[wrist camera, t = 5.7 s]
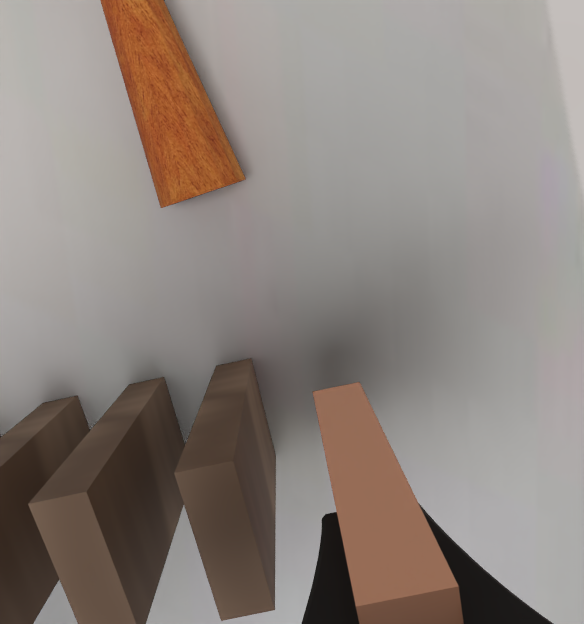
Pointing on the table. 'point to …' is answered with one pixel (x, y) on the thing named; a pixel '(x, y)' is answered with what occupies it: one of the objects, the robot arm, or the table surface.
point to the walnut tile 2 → (20, 491)
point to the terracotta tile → (381, 520)
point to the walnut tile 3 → (115, 508)
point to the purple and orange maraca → (169, 103)
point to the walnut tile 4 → (232, 491)
